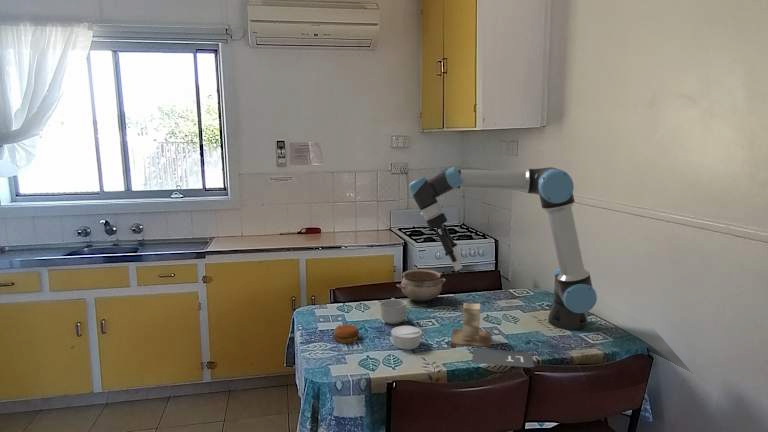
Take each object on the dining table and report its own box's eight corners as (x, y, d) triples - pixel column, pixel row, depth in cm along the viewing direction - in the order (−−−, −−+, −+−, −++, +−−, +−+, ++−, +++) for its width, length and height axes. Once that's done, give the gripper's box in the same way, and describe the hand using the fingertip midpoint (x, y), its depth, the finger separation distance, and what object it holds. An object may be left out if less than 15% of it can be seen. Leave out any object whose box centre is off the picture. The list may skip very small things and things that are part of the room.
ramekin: (412, 353, 182) (412, 339, 181) (385, 346, 188) (385, 333, 187) (427, 342, 191) (427, 329, 191) (400, 336, 197) (401, 323, 196)
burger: (348, 345, 189) (348, 333, 188) (328, 340, 194) (328, 328, 193) (364, 337, 197) (364, 325, 196) (344, 332, 202) (344, 320, 201)
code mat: (531, 355, 180) (531, 353, 180) (534, 370, 169) (534, 367, 169) (472, 351, 184) (473, 348, 184) (472, 365, 173) (472, 362, 173)
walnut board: (490, 335, 198) (490, 331, 198) (490, 350, 185) (490, 346, 185) (453, 332, 201) (453, 328, 201) (450, 346, 188) (450, 342, 187)
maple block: (479, 334, 195) (480, 303, 193) (478, 340, 189) (479, 309, 187) (463, 333, 196) (463, 302, 194) (462, 339, 190) (463, 308, 189)
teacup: (403, 327, 207) (403, 307, 206) (377, 325, 209) (377, 306, 208) (409, 315, 220) (409, 297, 219) (384, 313, 222) (384, 295, 221)
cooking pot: (405, 310, 227) (405, 283, 225) (388, 297, 244) (388, 272, 242) (455, 302, 236) (455, 276, 235) (435, 291, 254) (435, 267, 252)
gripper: (428, 217, 211) (452, 264, 211) (422, 224, 187) (449, 276, 187) (445, 209, 210) (469, 256, 210) (440, 214, 185) (468, 267, 185)
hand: (459, 265), depth 198 cm, fingers open, 13 cm apart
